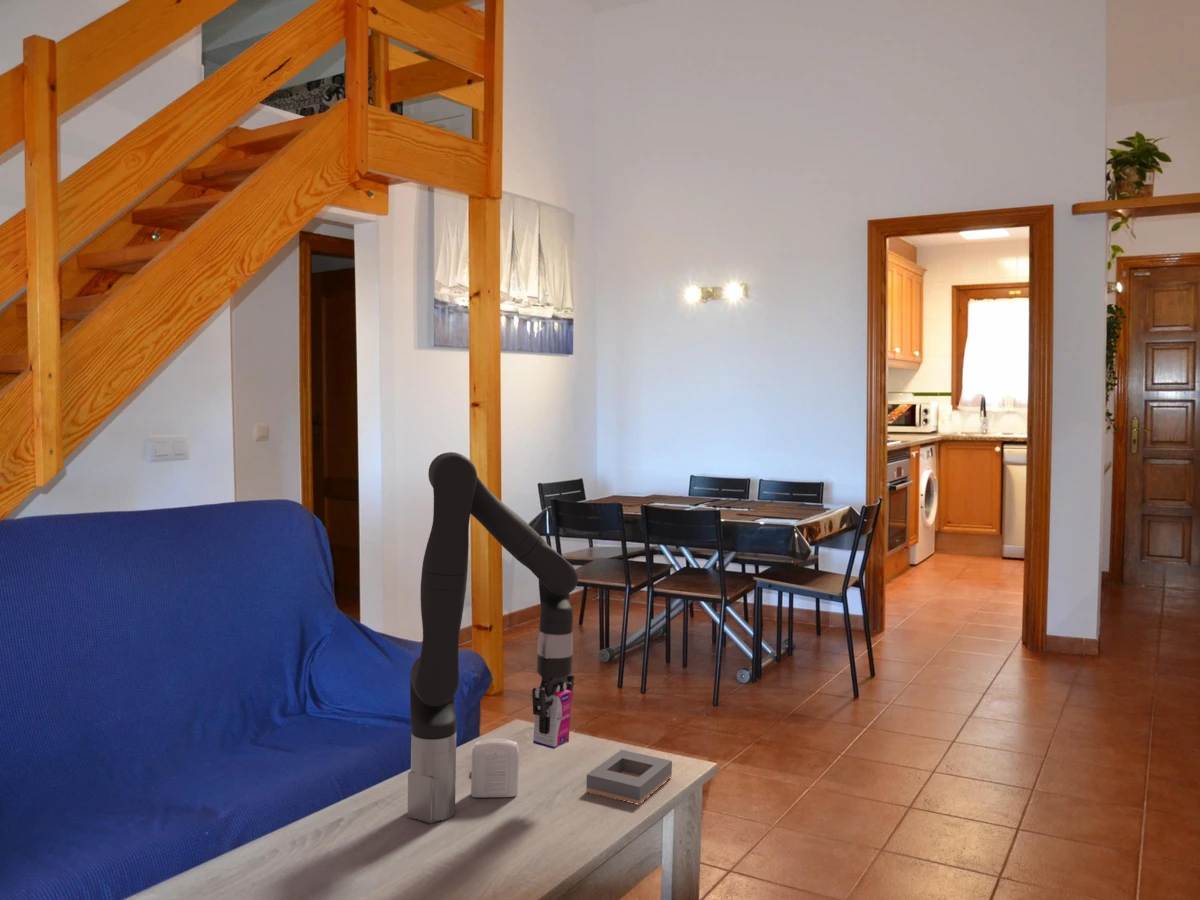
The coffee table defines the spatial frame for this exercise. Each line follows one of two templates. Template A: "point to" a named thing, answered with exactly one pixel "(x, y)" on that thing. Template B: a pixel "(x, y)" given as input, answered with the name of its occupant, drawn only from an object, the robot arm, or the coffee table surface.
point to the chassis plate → (629, 776)
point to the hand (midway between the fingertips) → (551, 728)
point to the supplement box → (555, 721)
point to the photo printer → (495, 768)
